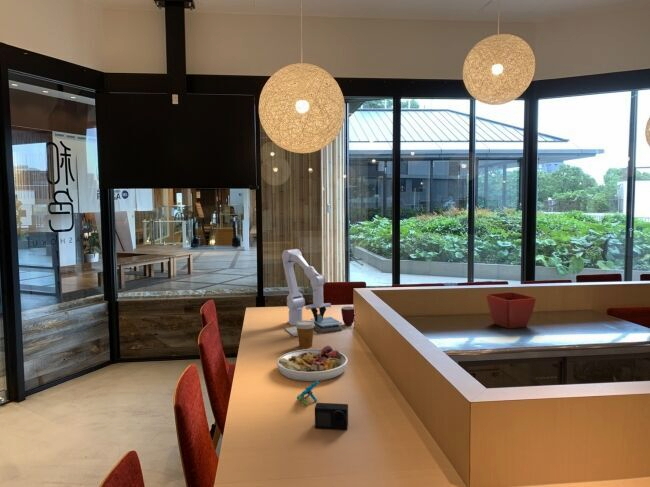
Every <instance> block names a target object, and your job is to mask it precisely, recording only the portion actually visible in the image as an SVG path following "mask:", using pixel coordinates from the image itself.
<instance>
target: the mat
mask: <svg viewBox="0 0 650 487" xmlns="http://www.w3.org/2000/svg"><path fill="white" fill-rule="evenodd" d="M284 330H285V331H286V332H288V333H289V335H291V336H292V335H293V337H294V338H295V336H297V337H298V333H297V328H296V326H294V327H293V326H292V327H286V328H284ZM317 334H318V333H317V332H316V331H315V330H314V331H313V335H317Z"/></svg>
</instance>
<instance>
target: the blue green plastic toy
mask: <svg viewBox="0 0 650 487" xmlns="http://www.w3.org/2000/svg"><path fill="white" fill-rule="evenodd" d="M319 383H320V381H318V380H317V381H313V382H312V383H311V385H309V386H306V387H305V389H304V390H303V391H302V392H301V393H300V394H298V395H297V397H296V399H297V400H298V401H301V402H303V404H304V405H305V406H306V407H308V406H309V404H308V403H307V402H306V399H307V398H308V397H311V399H312V400H313V401H314V403H317V401H318V399H317V398H316V396H315V395H314V394H313V391H312V390H313V389H314V388H316V386H318V384H319Z"/></svg>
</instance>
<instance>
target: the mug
mask: <svg viewBox="0 0 650 487" xmlns="http://www.w3.org/2000/svg"><path fill="white" fill-rule="evenodd" d="M354 307H355V306H342V307H341V308H340V309H341V310H340V311H341V317H342V322H343V323H344V326H349V327H350V326H352V325H354V323H355V322H354V321H355V318H354V316H355V315H354Z"/></svg>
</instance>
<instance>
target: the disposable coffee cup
mask: <svg viewBox="0 0 650 487" xmlns="http://www.w3.org/2000/svg"><path fill="white" fill-rule="evenodd" d="M314 326H315V324H314V322H313V321H312V320H303V321H298V322H297V323H296V325H295V327H296V328H297V333H298V336H297V339H298V340H297V341H298V344H299V348H301V349H310V348H312V347H313V338H314V334H313V331H315V330H314V329H315V328H314Z"/></svg>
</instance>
